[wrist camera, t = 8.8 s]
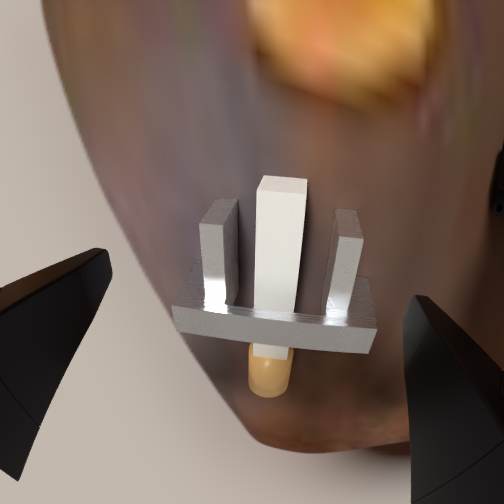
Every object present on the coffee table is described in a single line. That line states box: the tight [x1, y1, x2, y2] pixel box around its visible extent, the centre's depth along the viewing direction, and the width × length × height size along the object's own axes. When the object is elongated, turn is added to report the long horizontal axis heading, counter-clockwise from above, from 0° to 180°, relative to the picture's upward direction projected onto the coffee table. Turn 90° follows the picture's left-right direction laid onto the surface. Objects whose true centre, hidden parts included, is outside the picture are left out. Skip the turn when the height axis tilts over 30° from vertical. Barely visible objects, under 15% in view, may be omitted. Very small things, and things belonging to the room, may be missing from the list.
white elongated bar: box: [248, 176, 307, 398], centre depth 20 cm, size 16×3×3 cm, turn 179°
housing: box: [171, 198, 377, 354], centre depth 18 cm, size 11×6×5 cm, turn 89°
